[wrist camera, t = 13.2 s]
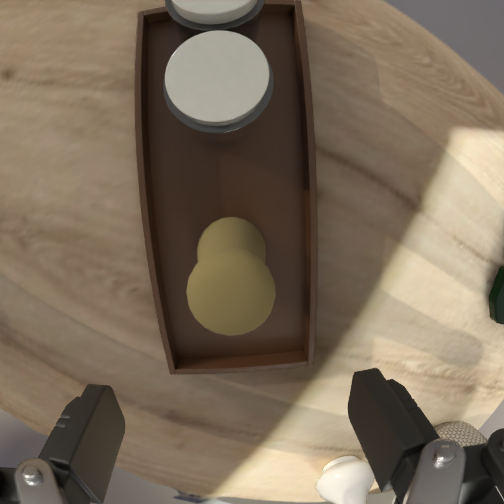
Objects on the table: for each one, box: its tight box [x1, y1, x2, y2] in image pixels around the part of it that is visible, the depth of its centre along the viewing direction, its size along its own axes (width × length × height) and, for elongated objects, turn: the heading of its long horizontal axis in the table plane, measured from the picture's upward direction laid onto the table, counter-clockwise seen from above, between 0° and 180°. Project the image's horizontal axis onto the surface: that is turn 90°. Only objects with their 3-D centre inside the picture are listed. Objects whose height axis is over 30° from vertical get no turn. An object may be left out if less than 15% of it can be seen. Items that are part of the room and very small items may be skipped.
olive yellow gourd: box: [186, 217, 276, 336], centre depth 21 cm, size 6×6×11 cm
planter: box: [434, 422, 488, 447], centre depth 32 cm, size 14×14×13 cm
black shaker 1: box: [165, 0, 265, 44], centre depth 17 cm, size 6×6×11 cm
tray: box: [135, 0, 318, 374], centre depth 25 cm, size 14×34×2 cm, turn 3°
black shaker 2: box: [163, 31, 274, 147], centre depth 18 cm, size 6×6×11 cm
